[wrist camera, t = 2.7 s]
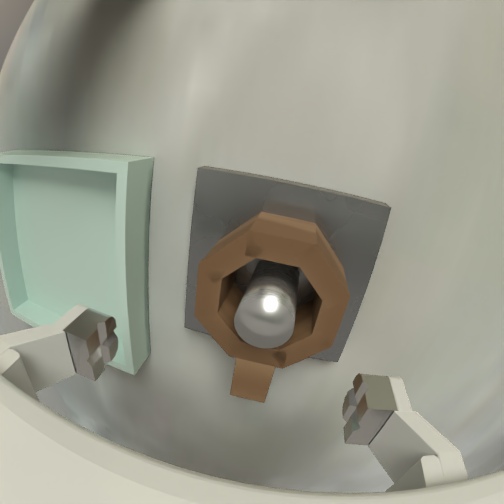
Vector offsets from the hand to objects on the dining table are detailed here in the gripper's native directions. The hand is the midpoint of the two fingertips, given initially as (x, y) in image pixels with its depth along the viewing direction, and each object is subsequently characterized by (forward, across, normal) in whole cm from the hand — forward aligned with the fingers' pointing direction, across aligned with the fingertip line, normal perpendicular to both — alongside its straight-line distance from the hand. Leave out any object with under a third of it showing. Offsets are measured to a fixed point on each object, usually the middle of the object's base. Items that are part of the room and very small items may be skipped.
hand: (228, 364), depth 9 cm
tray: (+8, +13, +2) cm, 15 cm away
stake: (+7, -1, 0) cm, 7 cm away
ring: (+6, -1, +1) cm, 6 cm away
